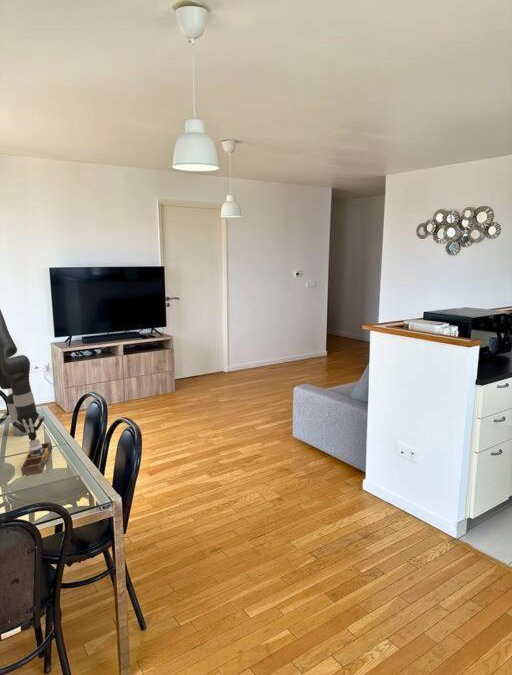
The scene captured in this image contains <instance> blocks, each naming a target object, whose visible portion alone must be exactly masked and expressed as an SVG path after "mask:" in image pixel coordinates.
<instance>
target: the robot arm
mask: <svg viewBox="0 0 512 675" xmlns="http://www.w3.org/2000/svg"><path fill="white" fill-rule="evenodd" d="M17 352H18V347H17V345H16V344H15V342H14V340H13V338H12V336H11V334H10V332H9V329H8V327H7V322H6V320H5V318H4V314H3V312H2V310H1V309H0V388H1V389H2V390H9V389H10V390H11V393H9V394H8V395H7V396H6V398H5V401H6V404H7V409H8V413H9V417H10V420H11V421H10V422H11V425H12V429H13V433H14V436H16V437H23V436H28V439H29V440H30V441H32V440H35V439H37V431H38V430H39V429H40V428H41V425H42V424H43V422H44V421H45V419H46V418H45V417H46V416H45V415H43V416H40V413H38V411H37V406H36V403H35V402H36V401H35V398H34V394H33V391H32V388H31V384H30V370H31V363H30V361H31V360H30V359H29V357H27V355H25V354H21V355H16V354H17ZM14 355H16V356H14ZM37 421H38V424H37V425H36V422H37Z"/></svg>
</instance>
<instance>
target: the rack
mask: <svg viewBox="0 0 512 675" xmlns="http://www.w3.org/2000/svg"><path fill="white" fill-rule="evenodd" d="M40 444H41V445H42V447H43V452H44V453H43V455H42V456H38V457H32V458H31V456H30V452H29V451H28V453H27V455H26V457H25V458H24V462H23V463H22V466H21V467H20V471H21V474H22V477H24V475H26V476H30V475H36V474H37V475H38V474H41V473H43V471H44V469H45V466H46V464H47V462H48V460H49V458H48V457H50V456H49V455H51V454H50V453H52V452H51V450H52V451H53V445H52V442H51V441H49V442H44V443H40ZM47 459H48V460H47Z"/></svg>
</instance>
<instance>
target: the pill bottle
mask: <svg viewBox="0 0 512 675" xmlns="http://www.w3.org/2000/svg"><path fill="white" fill-rule="evenodd" d="M41 444H42V443H41V442H40V439H39V438H36V439H35V440H32V441H31V440H30V441H29V448H28V453H29V452H30V456H31V458H32V457H38V456H42V455H43V453H44V452H43V447H42V445H41Z"/></svg>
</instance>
